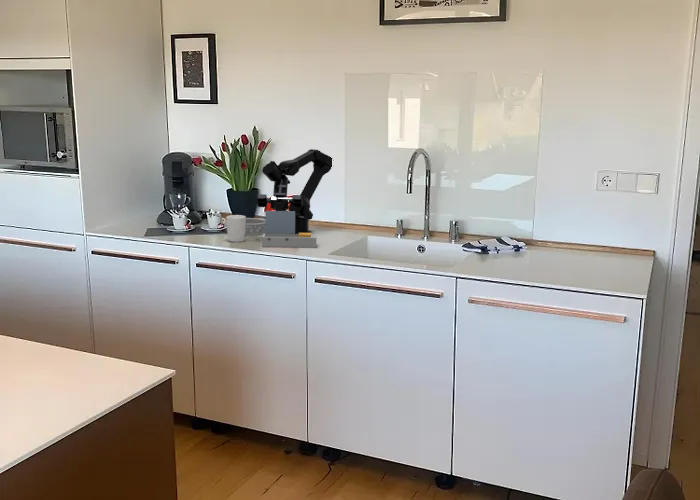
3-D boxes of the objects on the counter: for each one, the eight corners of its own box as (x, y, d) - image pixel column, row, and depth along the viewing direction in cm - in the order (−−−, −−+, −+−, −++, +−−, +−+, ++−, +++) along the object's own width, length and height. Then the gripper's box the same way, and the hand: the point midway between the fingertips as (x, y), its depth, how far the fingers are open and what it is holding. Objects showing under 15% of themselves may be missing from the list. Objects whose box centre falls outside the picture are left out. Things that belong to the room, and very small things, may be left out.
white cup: (247, 239, 303) (247, 215, 301) (243, 242, 295) (243, 218, 293) (229, 238, 303) (229, 214, 301) (224, 241, 296) (224, 217, 294)
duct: (263, 243, 295) (263, 233, 294) (316, 243, 296) (316, 234, 295) (262, 247, 287) (262, 237, 286) (316, 247, 288) (316, 237, 287)
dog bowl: (259, 227, 330) (259, 216, 329) (275, 234, 315) (275, 222, 314) (223, 230, 322) (223, 218, 321) (239, 237, 306) (239, 225, 305)
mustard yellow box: (299, 240, 302) (299, 232, 301) (311, 241, 302) (311, 232, 301) (298, 242, 298) (298, 234, 297) (310, 242, 298) (310, 234, 297)
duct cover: (265, 233, 293) (265, 233, 294) (294, 234, 294) (295, 233, 294) (265, 211, 291) (265, 210, 292) (295, 211, 292) (295, 211, 292)
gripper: (303, 199, 310) (301, 229, 302) (259, 198, 310) (257, 228, 301) (302, 183, 301) (301, 213, 292) (257, 182, 300) (255, 212, 292)
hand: (278, 217), depth 295 cm, fingers closed
